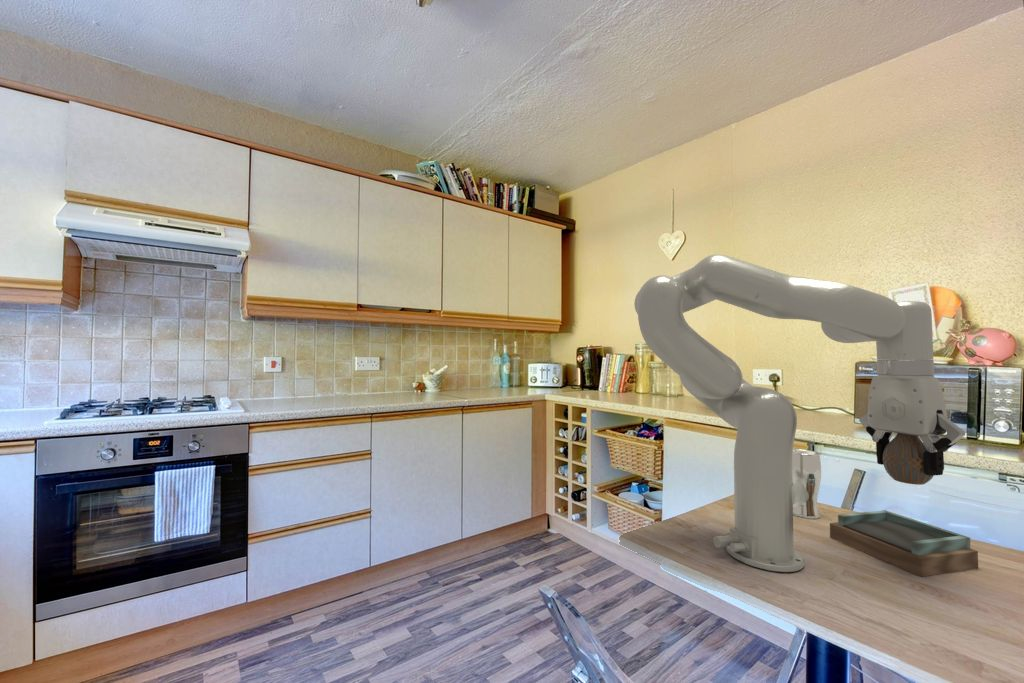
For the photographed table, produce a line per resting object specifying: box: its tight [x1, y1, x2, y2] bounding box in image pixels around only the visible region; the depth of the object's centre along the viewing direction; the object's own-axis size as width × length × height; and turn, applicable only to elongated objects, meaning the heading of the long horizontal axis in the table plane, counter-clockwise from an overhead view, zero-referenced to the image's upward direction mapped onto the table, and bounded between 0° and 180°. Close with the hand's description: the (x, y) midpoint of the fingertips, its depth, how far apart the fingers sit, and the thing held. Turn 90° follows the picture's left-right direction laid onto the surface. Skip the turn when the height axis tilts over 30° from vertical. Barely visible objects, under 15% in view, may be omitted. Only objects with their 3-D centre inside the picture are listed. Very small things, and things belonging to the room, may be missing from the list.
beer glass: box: [792, 448, 822, 520], centre depth 101 cm, size 7×7×15 cm
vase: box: [883, 433, 934, 486], centre depth 75 cm, size 7×7×9 cm
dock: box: [829, 509, 979, 577], centre depth 81 cm, size 14×16×5 cm
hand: (908, 468), depth 75 cm, fingers closed on vase, 6 cm apart
